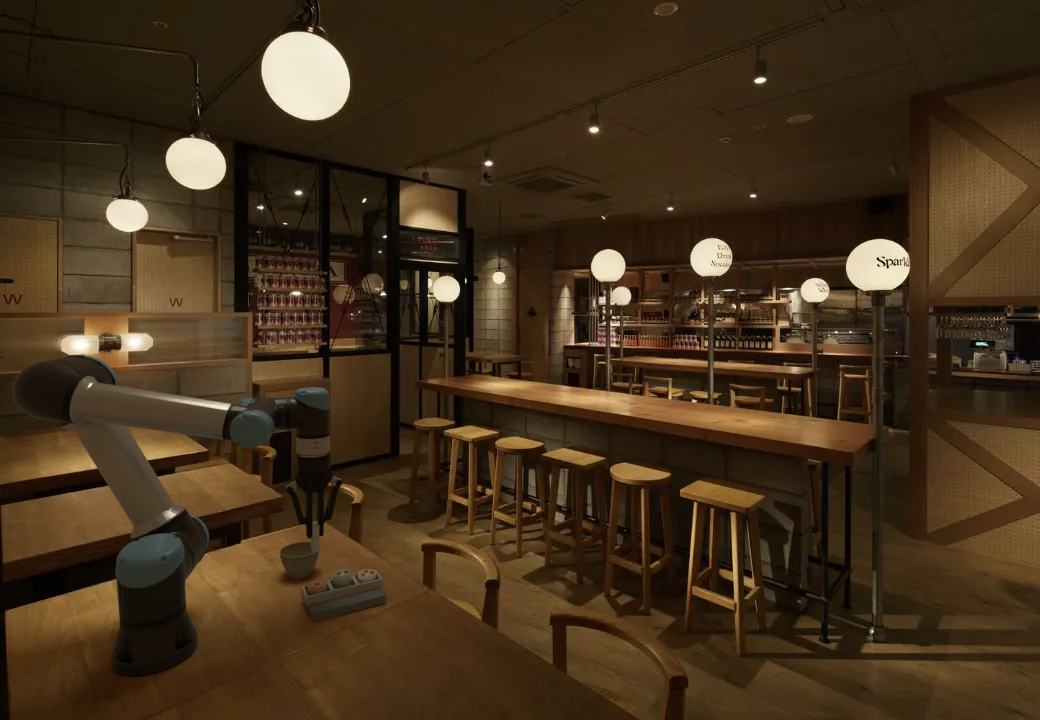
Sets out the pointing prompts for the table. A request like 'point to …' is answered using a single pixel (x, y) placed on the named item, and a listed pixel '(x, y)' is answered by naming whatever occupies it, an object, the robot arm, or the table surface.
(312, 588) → the terracotta button
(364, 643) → the table surface
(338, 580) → the sage button
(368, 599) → the panel
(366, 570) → the cream button
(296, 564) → the grey bowl
